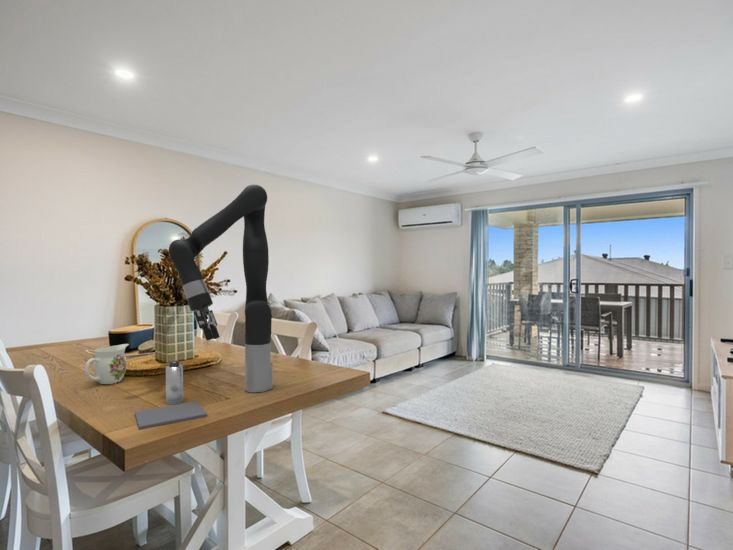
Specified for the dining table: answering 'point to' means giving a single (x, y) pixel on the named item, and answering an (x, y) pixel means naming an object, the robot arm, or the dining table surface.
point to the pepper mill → (174, 382)
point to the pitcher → (108, 364)
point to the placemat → (169, 414)
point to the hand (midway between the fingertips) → (213, 339)
